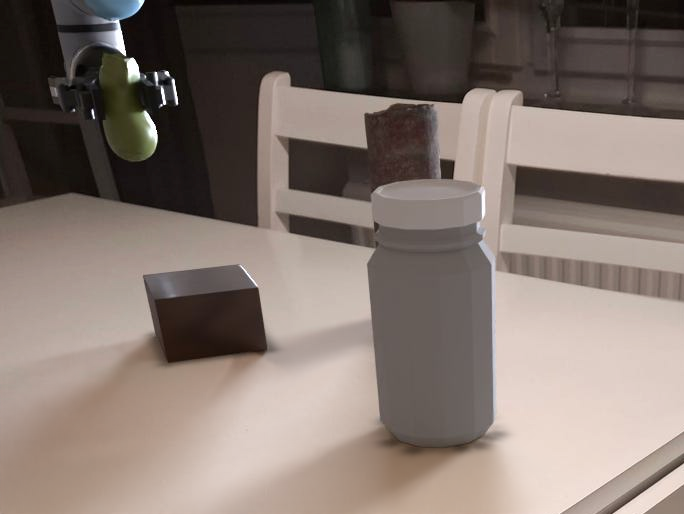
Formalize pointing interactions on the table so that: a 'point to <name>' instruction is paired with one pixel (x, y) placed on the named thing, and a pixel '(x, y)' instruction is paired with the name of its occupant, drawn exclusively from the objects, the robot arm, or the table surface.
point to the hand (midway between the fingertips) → (126, 102)
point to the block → (205, 312)
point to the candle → (402, 145)
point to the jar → (433, 312)
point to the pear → (125, 109)
